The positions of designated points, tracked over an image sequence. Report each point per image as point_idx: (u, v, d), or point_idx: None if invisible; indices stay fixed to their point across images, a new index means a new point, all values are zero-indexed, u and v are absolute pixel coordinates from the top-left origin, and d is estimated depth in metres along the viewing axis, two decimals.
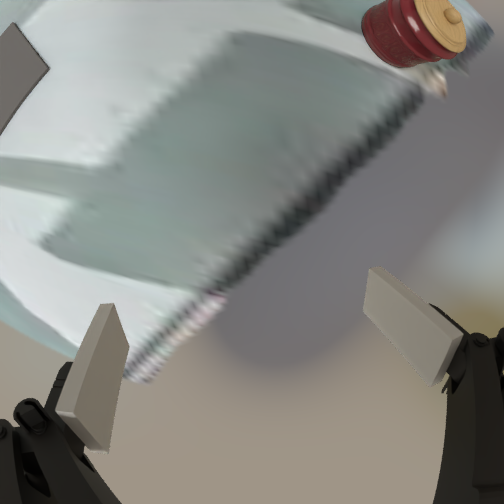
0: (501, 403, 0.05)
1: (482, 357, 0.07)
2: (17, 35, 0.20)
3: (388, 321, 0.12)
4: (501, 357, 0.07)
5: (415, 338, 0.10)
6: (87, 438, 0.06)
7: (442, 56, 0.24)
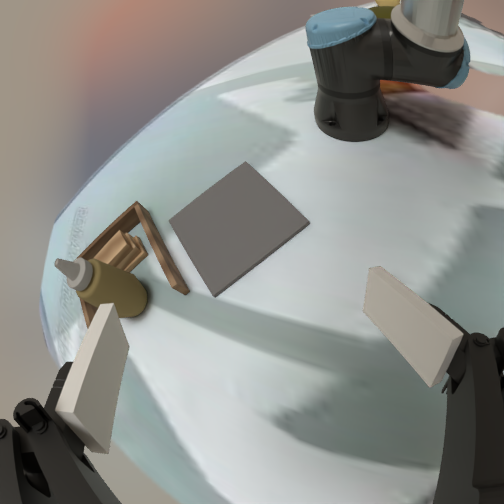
0: (501, 403, 0.05)
1: (482, 357, 0.07)
2: (257, 176, 0.47)
3: (388, 321, 0.12)
4: (501, 357, 0.07)
5: (415, 338, 0.10)
6: (87, 437, 0.06)
7: None
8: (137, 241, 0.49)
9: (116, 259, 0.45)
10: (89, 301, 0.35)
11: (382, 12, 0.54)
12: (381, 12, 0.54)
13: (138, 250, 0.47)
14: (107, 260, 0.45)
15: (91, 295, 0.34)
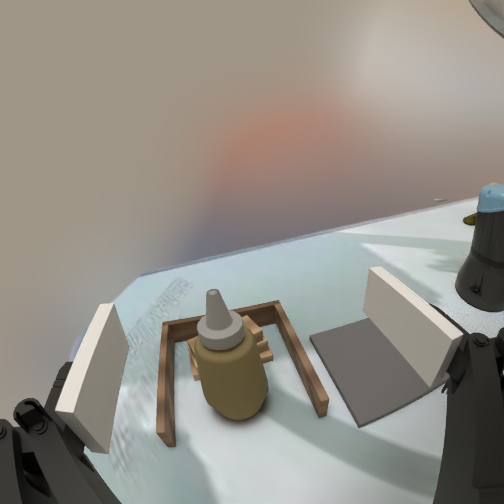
0: (501, 403, 0.05)
1: (482, 357, 0.07)
2: None
3: (388, 321, 0.12)
4: (501, 357, 0.07)
5: (415, 338, 0.10)
6: (87, 438, 0.06)
7: None
8: None
9: None
10: (213, 369, 0.25)
11: None
12: None
13: (266, 347, 0.39)
14: None
15: (227, 363, 0.25)
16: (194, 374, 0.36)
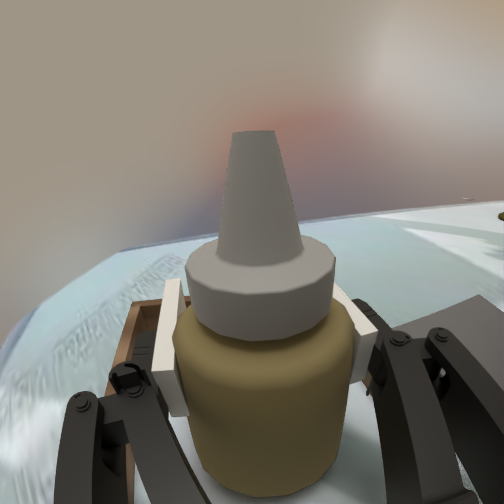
0: (438, 405, 0.06)
1: (404, 358, 0.08)
2: (501, 313, 0.22)
3: None
4: (429, 359, 0.08)
5: None
6: (175, 399, 0.08)
7: None
8: None
9: None
10: (230, 408, 0.07)
11: None
12: None
13: None
14: None
15: (286, 388, 0.07)
16: None
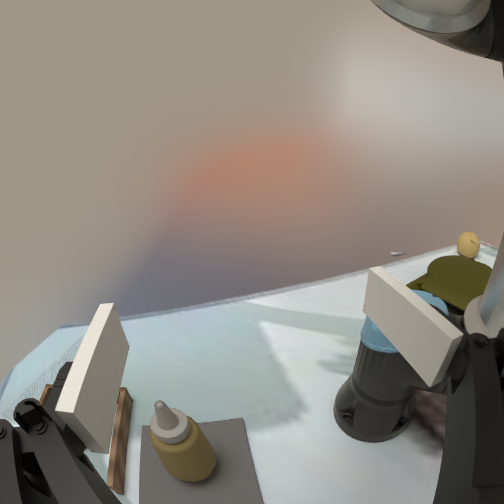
0: (501, 403, 0.05)
1: (482, 357, 0.07)
2: (243, 440, 0.37)
3: (388, 321, 0.12)
4: (501, 357, 0.07)
5: (415, 338, 0.10)
6: (87, 438, 0.06)
7: None
8: None
9: None
10: (163, 454, 0.25)
11: (453, 267, 0.69)
12: (451, 267, 0.69)
13: None
14: None
15: (174, 453, 0.24)
16: None
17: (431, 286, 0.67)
